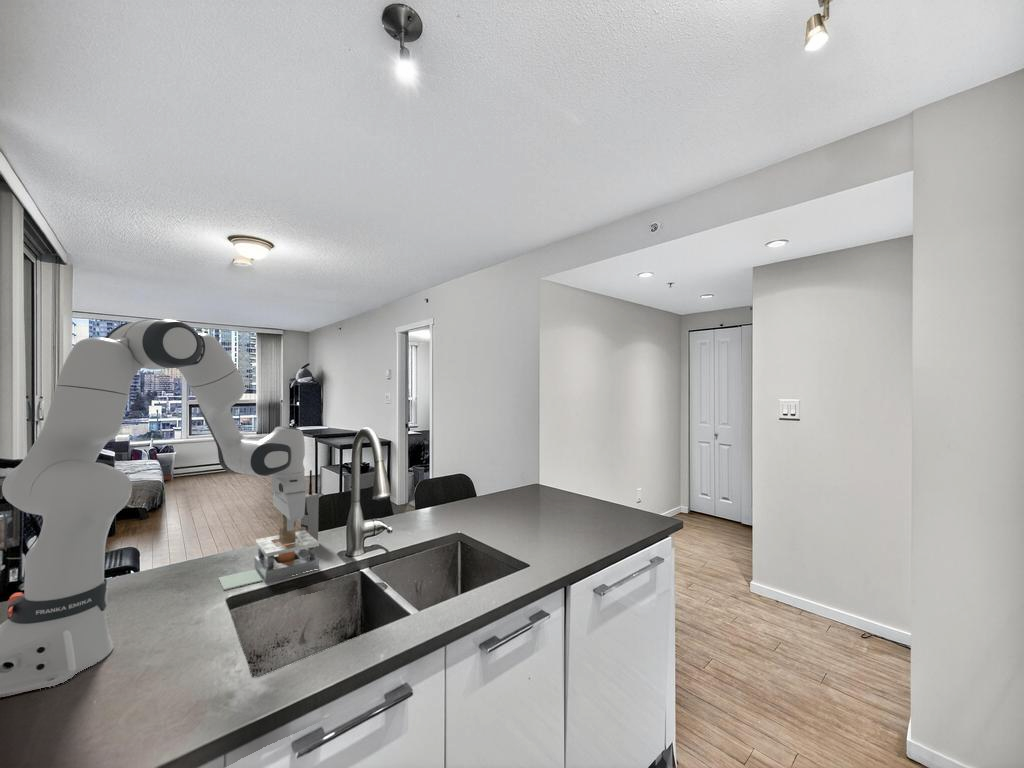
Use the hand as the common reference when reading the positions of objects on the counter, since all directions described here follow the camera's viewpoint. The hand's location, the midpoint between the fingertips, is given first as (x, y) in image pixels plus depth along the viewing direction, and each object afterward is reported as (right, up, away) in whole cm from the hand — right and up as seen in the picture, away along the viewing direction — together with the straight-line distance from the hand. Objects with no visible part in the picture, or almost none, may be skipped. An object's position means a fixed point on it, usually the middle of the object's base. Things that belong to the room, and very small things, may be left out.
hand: (287, 528), depth 133 cm
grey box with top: (0, -12, 0) cm, 12 cm away
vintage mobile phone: (-3, -12, +20) cm, 23 cm away
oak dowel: (0, -4, 0) cm, 4 cm away
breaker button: (0, -9, 0) cm, 9 cm away
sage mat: (-9, -12, -9) cm, 17 cm away
